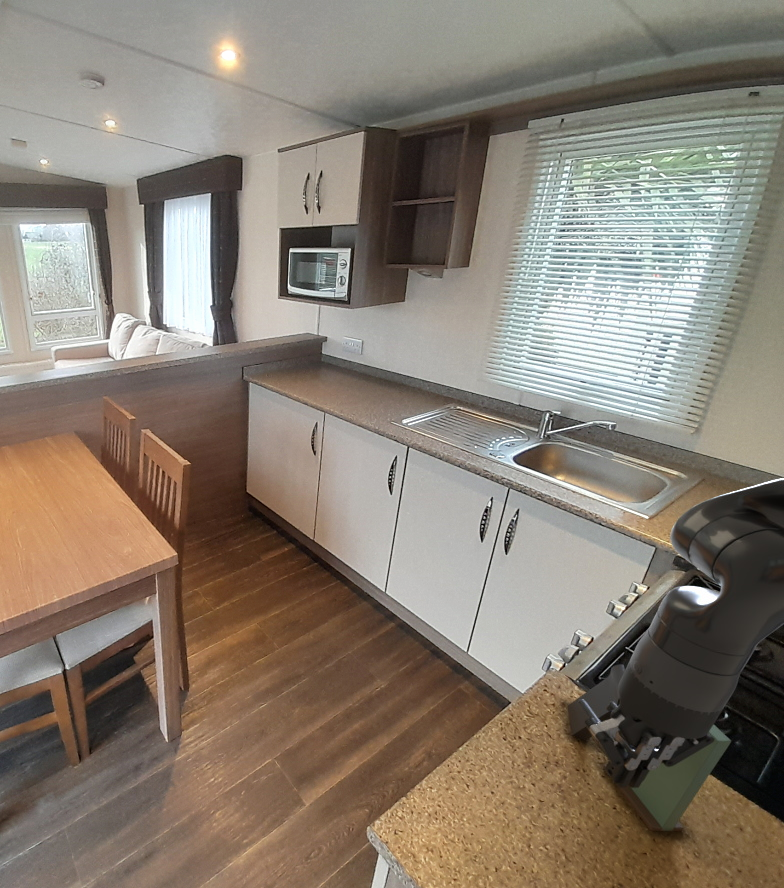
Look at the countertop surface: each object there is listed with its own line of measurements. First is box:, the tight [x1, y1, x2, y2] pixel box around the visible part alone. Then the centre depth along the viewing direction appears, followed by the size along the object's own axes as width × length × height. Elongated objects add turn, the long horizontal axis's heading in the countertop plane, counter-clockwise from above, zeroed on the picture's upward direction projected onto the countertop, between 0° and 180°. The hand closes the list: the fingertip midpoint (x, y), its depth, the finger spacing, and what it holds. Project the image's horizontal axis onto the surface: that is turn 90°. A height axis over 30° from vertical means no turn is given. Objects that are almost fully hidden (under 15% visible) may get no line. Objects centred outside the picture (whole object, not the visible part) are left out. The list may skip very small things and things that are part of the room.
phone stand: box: [567, 664, 626, 742], centre depth 71 cm, size 9×6×12 cm, turn 58°
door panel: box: [598, 722, 732, 832], centre depth 61 cm, size 8×12×18 cm, turn 89°
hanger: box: [578, 699, 618, 722], centre depth 59 cm, size 9×1×5 cm, turn 179°
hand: (621, 779), depth 58 cm, fingers closed on hanger, 1 cm apart
